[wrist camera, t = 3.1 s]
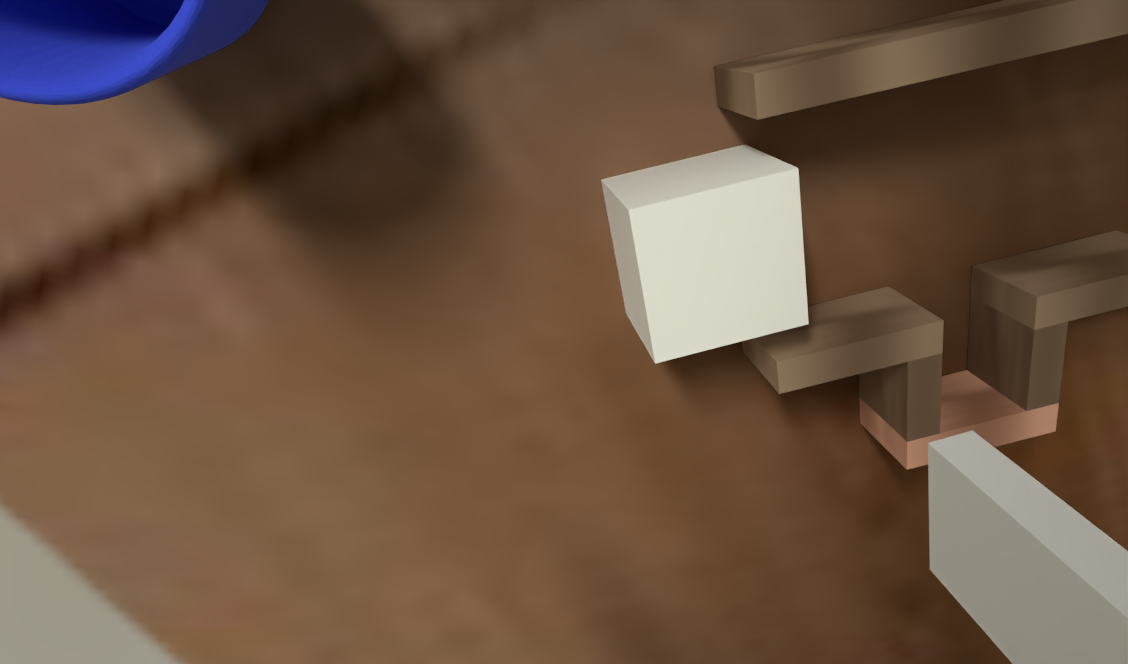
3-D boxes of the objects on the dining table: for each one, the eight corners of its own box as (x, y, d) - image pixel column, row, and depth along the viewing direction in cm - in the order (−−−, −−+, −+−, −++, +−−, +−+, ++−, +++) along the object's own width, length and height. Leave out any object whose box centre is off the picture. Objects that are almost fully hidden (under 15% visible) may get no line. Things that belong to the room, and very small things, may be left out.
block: (625, 312, 31) (655, 363, 27) (600, 179, 29) (628, 210, 24) (757, 279, 31) (808, 324, 27) (743, 143, 29) (798, 168, 24)
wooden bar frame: (752, 450, 35) (787, 500, 31) (713, 66, 27) (753, 74, 24) (1097, 362, 36) (1170, 401, 32) (1152, -34, 28) (1256, -42, 24)
